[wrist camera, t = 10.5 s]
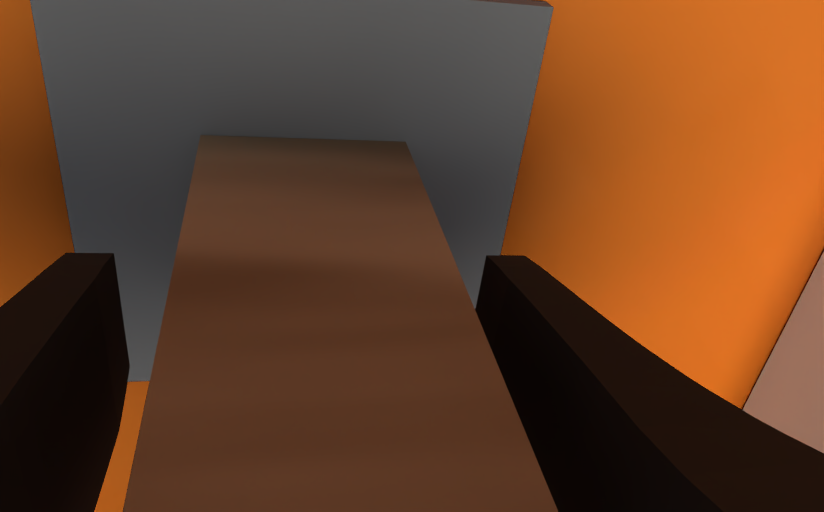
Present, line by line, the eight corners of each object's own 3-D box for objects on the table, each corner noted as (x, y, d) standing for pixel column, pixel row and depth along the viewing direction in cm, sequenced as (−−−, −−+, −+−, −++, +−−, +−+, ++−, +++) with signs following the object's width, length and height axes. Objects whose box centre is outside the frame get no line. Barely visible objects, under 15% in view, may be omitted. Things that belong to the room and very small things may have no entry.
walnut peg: (388, 300, 14) (495, 739, 7) (210, 303, 13) (153, 793, 7) (405, 141, 12) (569, 539, 6) (200, 135, 11) (107, 583, 5)
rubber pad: (471, 359, 16) (475, 371, 15) (101, 369, 14) (97, 382, 14) (545, 1, 12) (553, 6, 11) (32, -43, 10) (22, -38, 10)
